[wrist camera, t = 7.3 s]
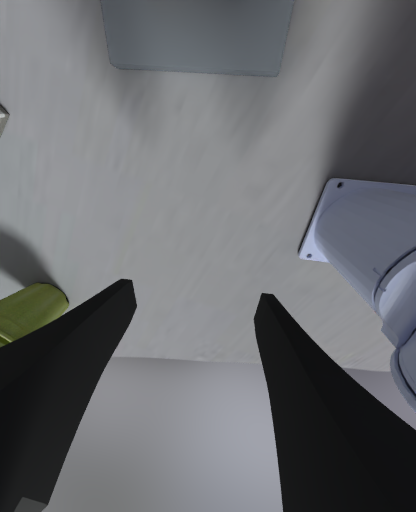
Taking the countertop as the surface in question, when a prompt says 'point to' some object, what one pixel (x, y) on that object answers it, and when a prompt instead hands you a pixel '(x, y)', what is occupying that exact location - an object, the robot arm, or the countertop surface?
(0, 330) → the plant pot
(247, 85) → the countertop surface
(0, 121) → the skyscraper
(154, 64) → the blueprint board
